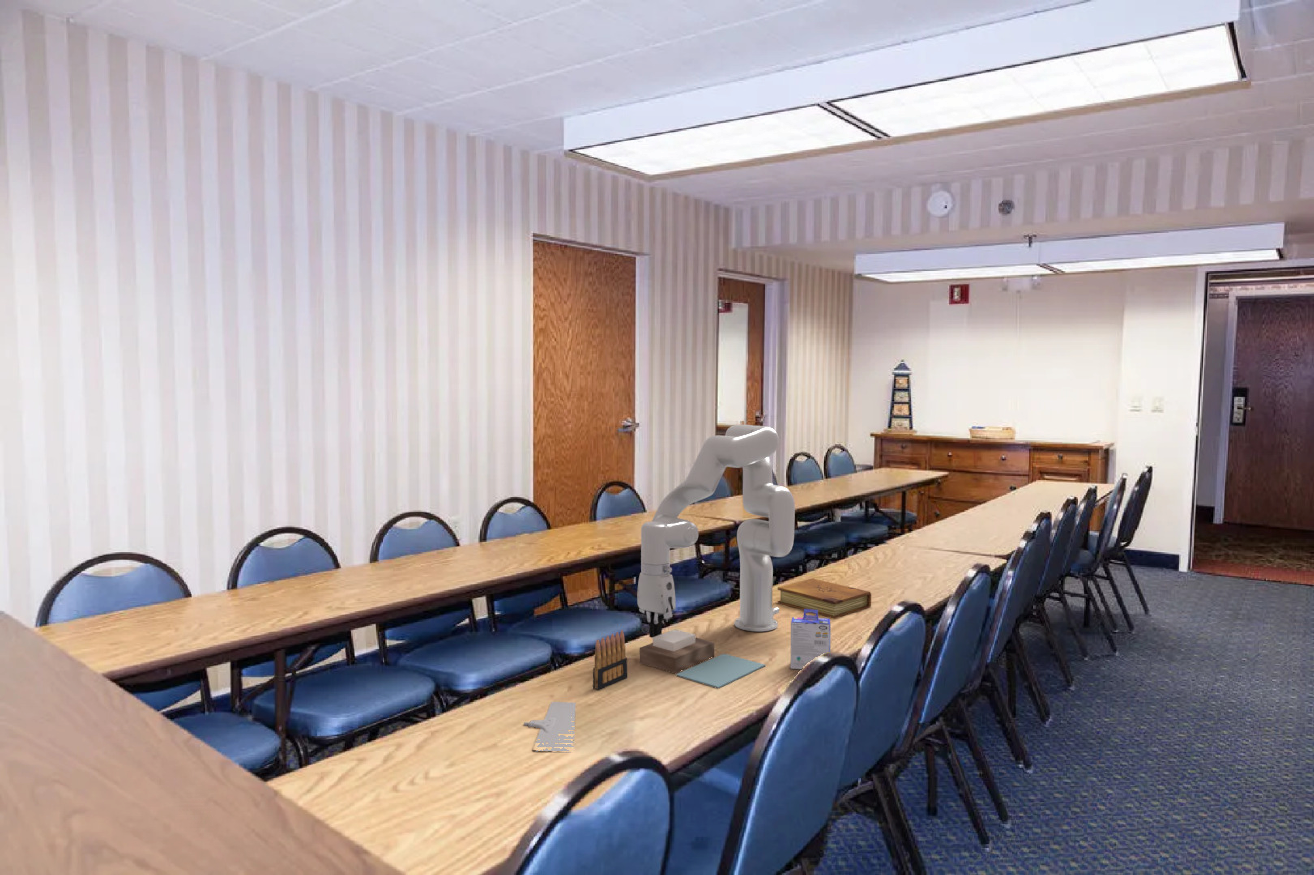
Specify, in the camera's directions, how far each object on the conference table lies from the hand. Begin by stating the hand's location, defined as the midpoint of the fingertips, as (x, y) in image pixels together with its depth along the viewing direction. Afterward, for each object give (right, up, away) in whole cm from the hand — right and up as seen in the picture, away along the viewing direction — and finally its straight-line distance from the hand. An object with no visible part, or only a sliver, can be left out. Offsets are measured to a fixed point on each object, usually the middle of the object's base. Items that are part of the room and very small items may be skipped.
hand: (655, 636), depth 223 cm
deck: (+6, -5, -5) cm, 9 cm away
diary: (+54, -2, +47) cm, 72 cm away
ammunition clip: (-11, -7, -21) cm, 24 cm away
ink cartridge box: (+39, -6, -10) cm, 41 cm away
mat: (+16, -6, -13) cm, 21 cm away
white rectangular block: (+5, 0, -4) cm, 6 cm away
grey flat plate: (-16, -9, -45) cm, 49 cm away
